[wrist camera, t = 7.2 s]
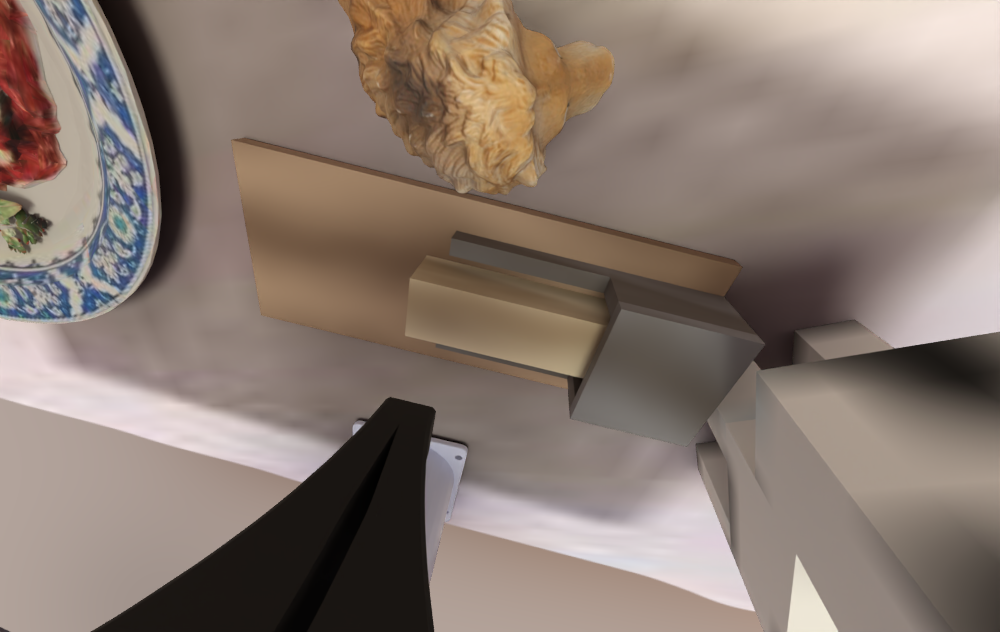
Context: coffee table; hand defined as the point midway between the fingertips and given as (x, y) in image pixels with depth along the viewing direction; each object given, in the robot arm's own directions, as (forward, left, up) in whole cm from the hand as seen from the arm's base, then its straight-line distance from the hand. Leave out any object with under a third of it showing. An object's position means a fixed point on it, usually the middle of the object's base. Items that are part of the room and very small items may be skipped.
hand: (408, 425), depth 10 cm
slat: (0, -4, -9) cm, 9 cm away
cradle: (0, 0, -9) cm, 9 cm away
